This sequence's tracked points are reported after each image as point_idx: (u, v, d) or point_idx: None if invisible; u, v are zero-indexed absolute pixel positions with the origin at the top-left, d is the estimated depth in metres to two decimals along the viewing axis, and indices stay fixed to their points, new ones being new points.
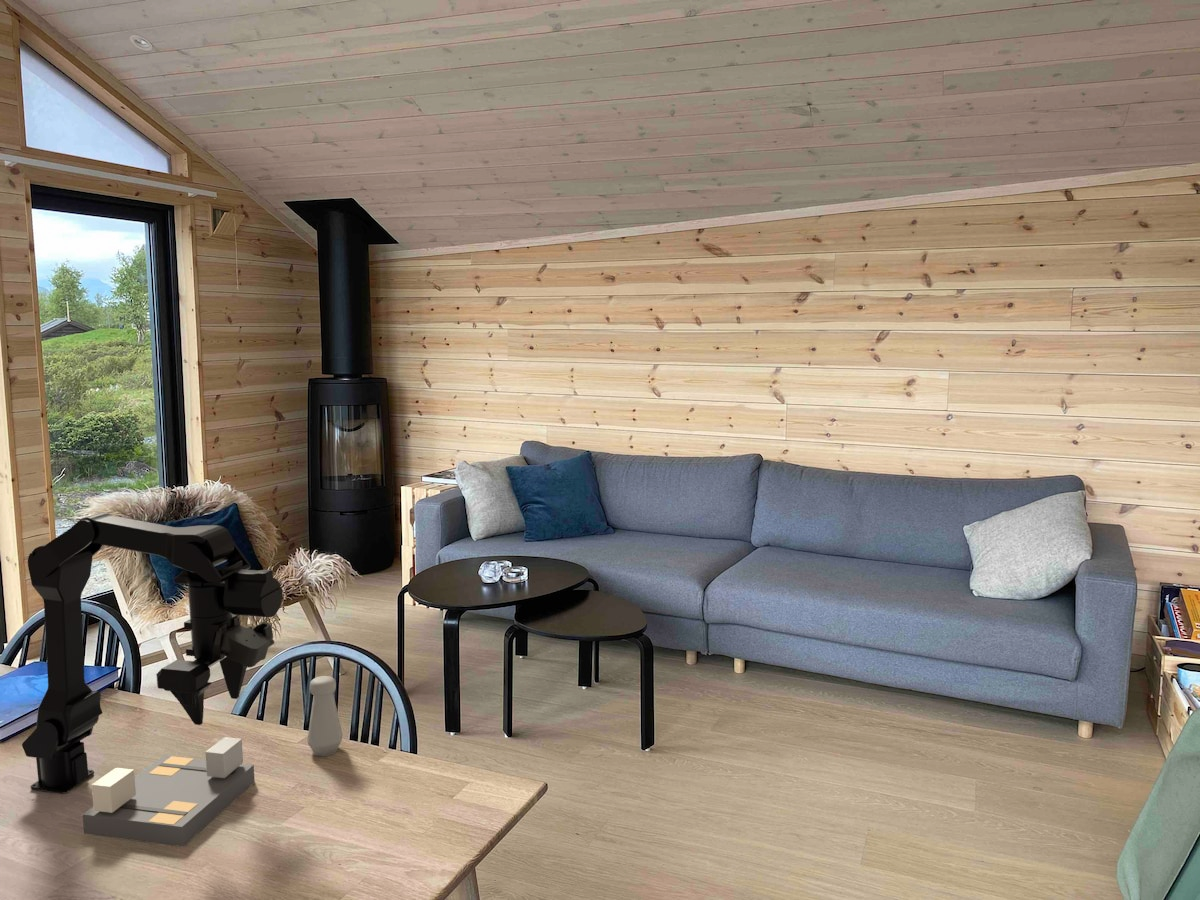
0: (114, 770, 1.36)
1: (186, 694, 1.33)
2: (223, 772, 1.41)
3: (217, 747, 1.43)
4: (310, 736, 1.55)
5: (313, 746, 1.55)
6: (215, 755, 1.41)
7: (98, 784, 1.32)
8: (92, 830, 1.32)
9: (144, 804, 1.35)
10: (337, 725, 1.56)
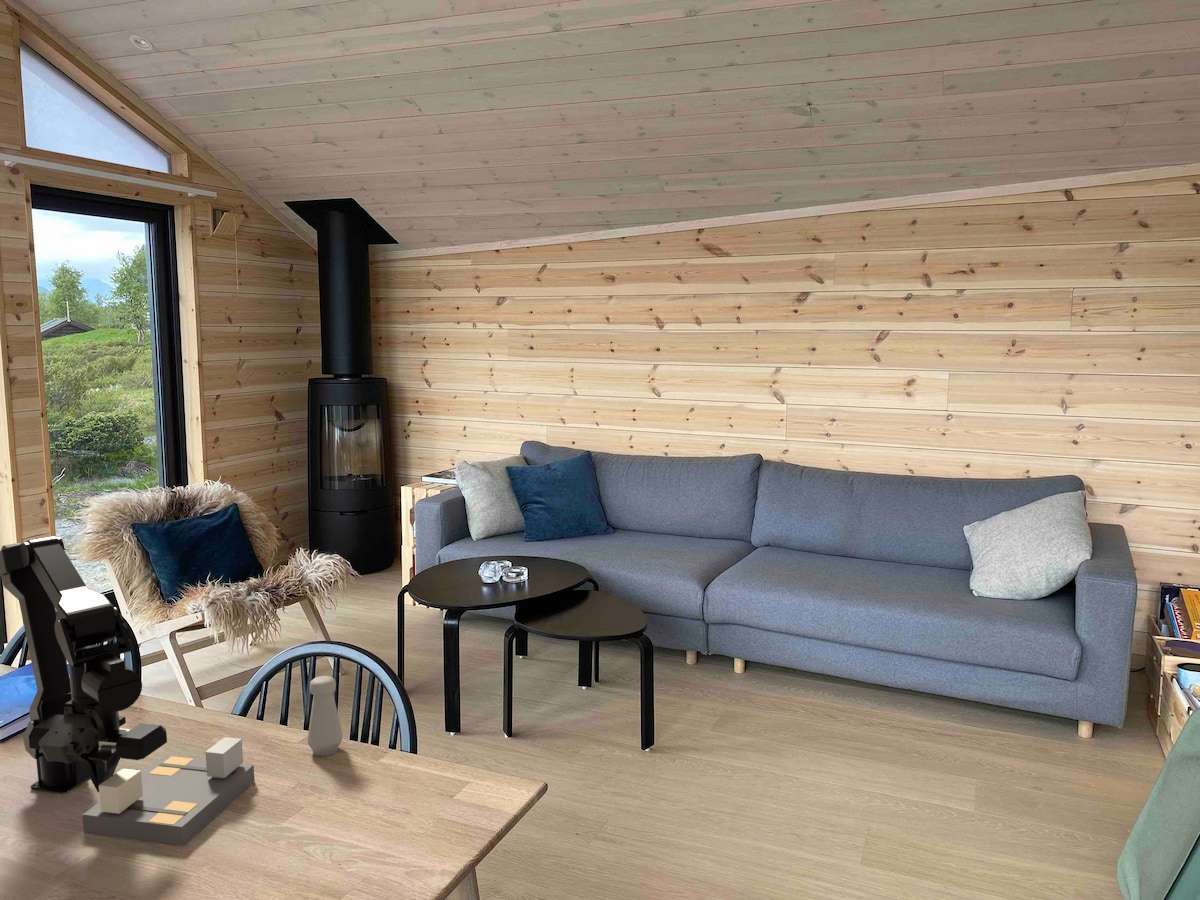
0: (121, 771, 1.35)
1: None
2: (223, 772, 1.41)
3: (217, 747, 1.43)
4: (310, 736, 1.55)
5: (313, 746, 1.55)
6: (215, 755, 1.41)
7: (105, 785, 1.31)
8: (92, 830, 1.32)
9: (144, 804, 1.35)
10: (337, 725, 1.56)
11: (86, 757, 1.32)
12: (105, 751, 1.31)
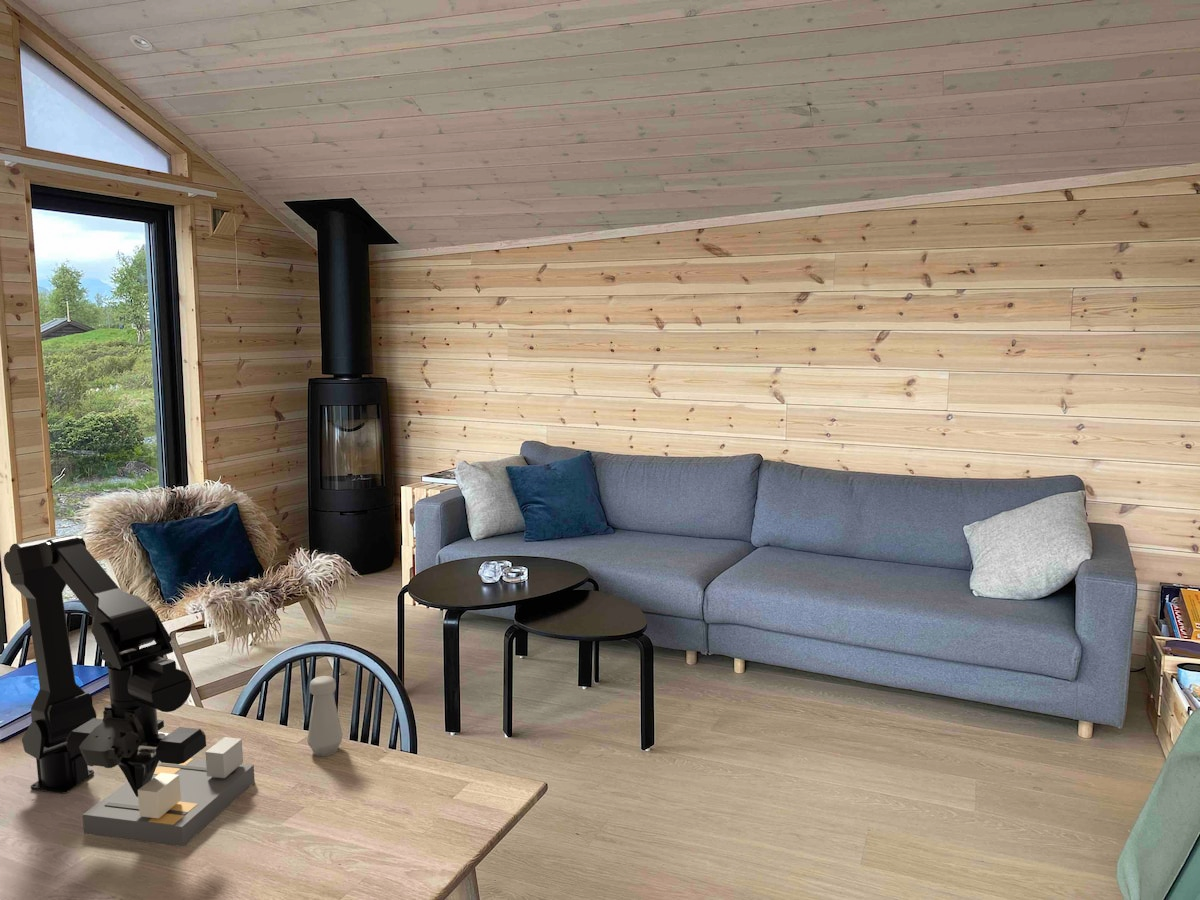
0: (159, 775, 1.34)
1: None
2: (223, 772, 1.41)
3: (217, 747, 1.43)
4: (310, 736, 1.55)
5: (313, 746, 1.55)
6: (215, 755, 1.41)
7: (144, 789, 1.30)
8: (92, 830, 1.32)
9: None
10: (337, 725, 1.56)
11: (125, 761, 1.31)
12: (144, 755, 1.30)
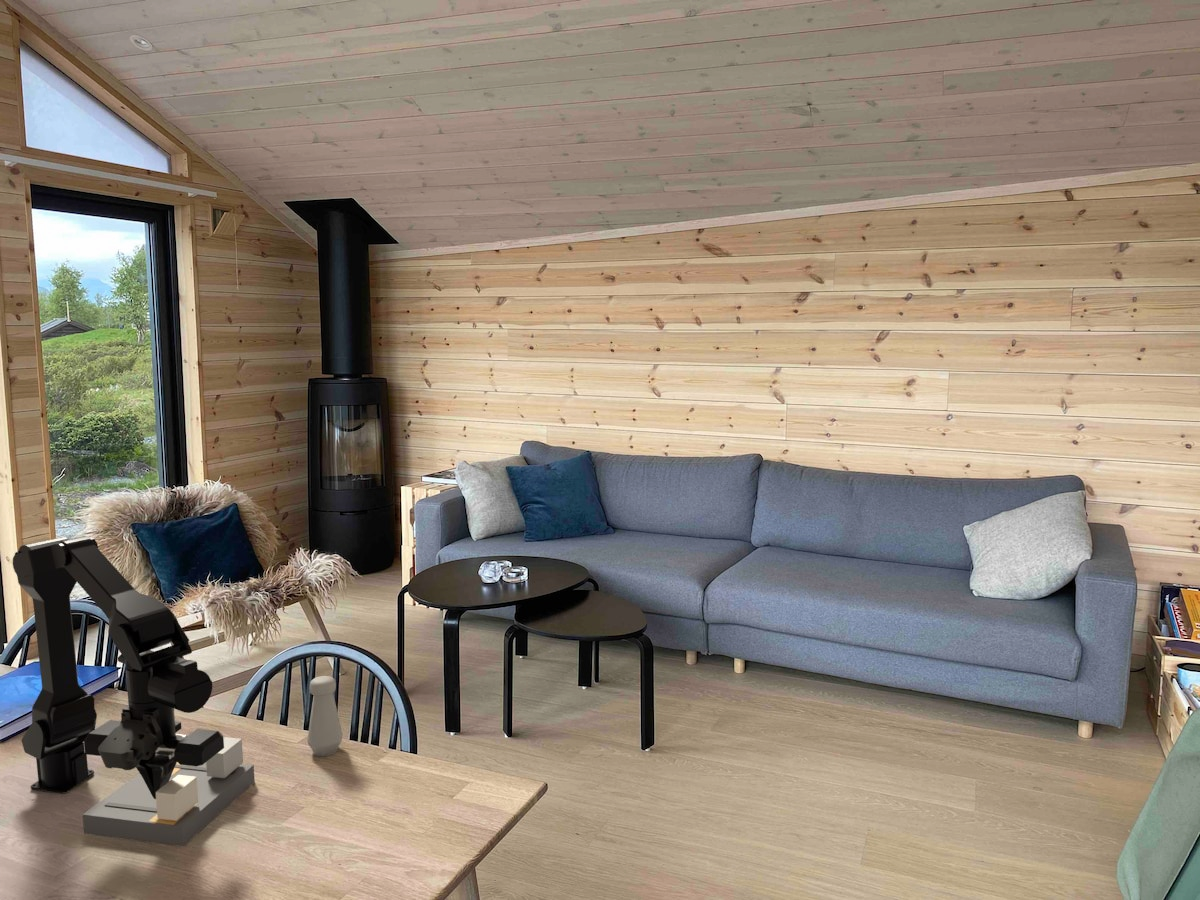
0: (177, 777, 1.34)
1: None
2: (223, 772, 1.41)
3: None
4: (310, 736, 1.55)
5: (313, 746, 1.55)
6: (215, 755, 1.41)
7: (162, 792, 1.30)
8: (92, 830, 1.32)
9: (144, 804, 1.35)
10: (337, 725, 1.56)
11: (143, 763, 1.30)
12: (162, 757, 1.30)
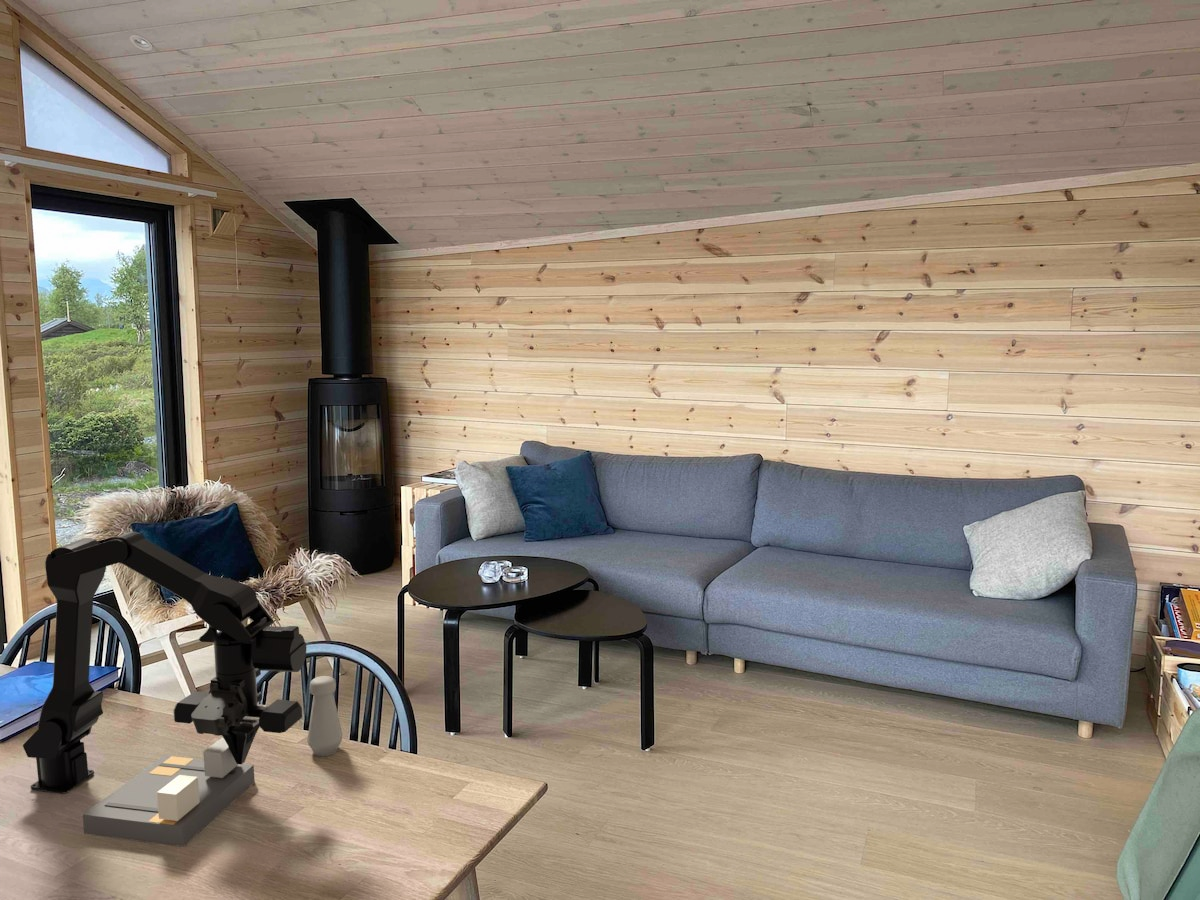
0: (178, 777, 1.34)
1: None
2: (221, 772, 1.41)
3: (215, 747, 1.43)
4: (310, 736, 1.55)
5: (313, 746, 1.55)
6: (213, 755, 1.41)
7: (163, 792, 1.30)
8: (92, 830, 1.32)
9: (144, 804, 1.35)
10: (337, 725, 1.56)
11: (228, 731, 1.41)
12: (246, 725, 1.40)
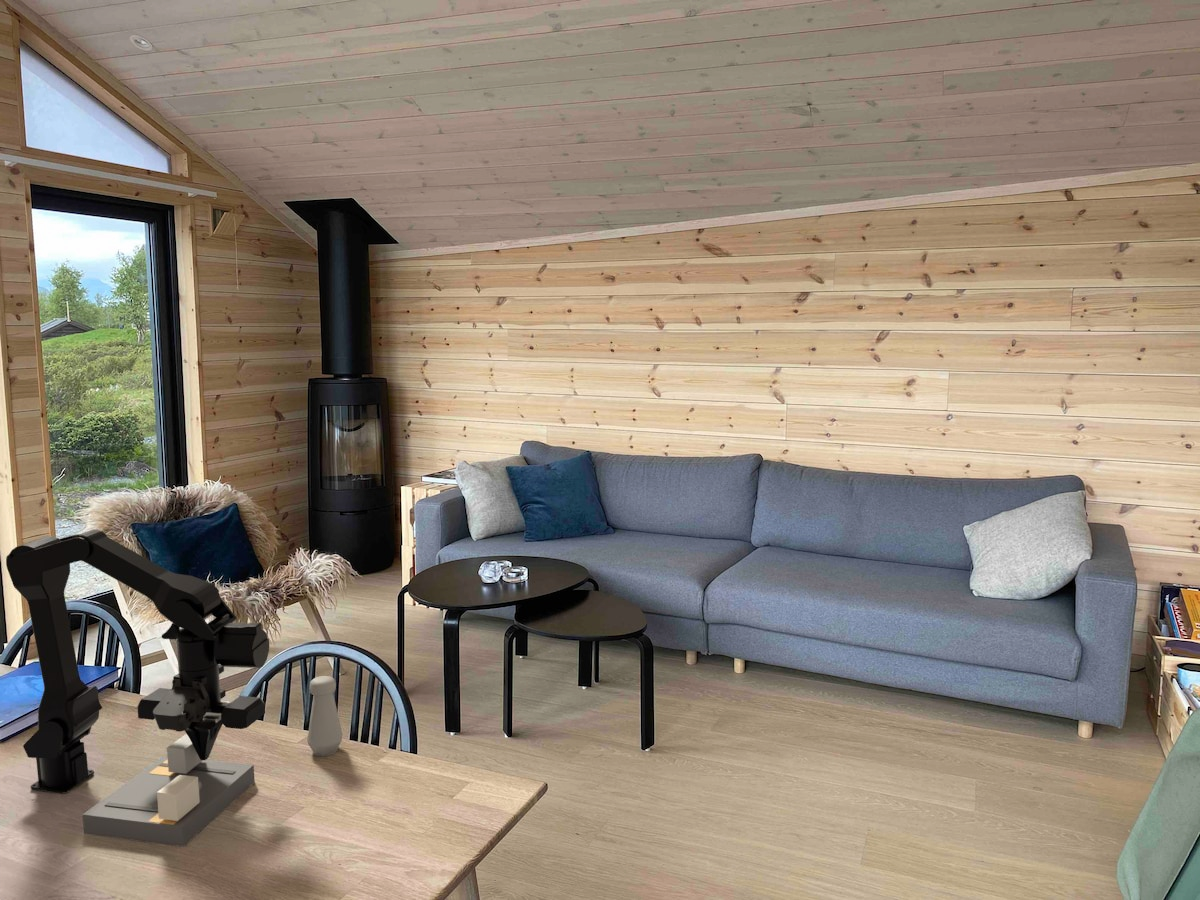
0: (178, 777, 1.34)
1: None
2: (184, 768, 1.42)
3: (179, 743, 1.44)
4: (310, 736, 1.55)
5: (313, 746, 1.55)
6: (176, 751, 1.42)
7: (163, 792, 1.30)
8: (92, 830, 1.32)
9: (144, 804, 1.35)
10: (337, 725, 1.56)
11: (191, 727, 1.42)
12: (209, 721, 1.41)
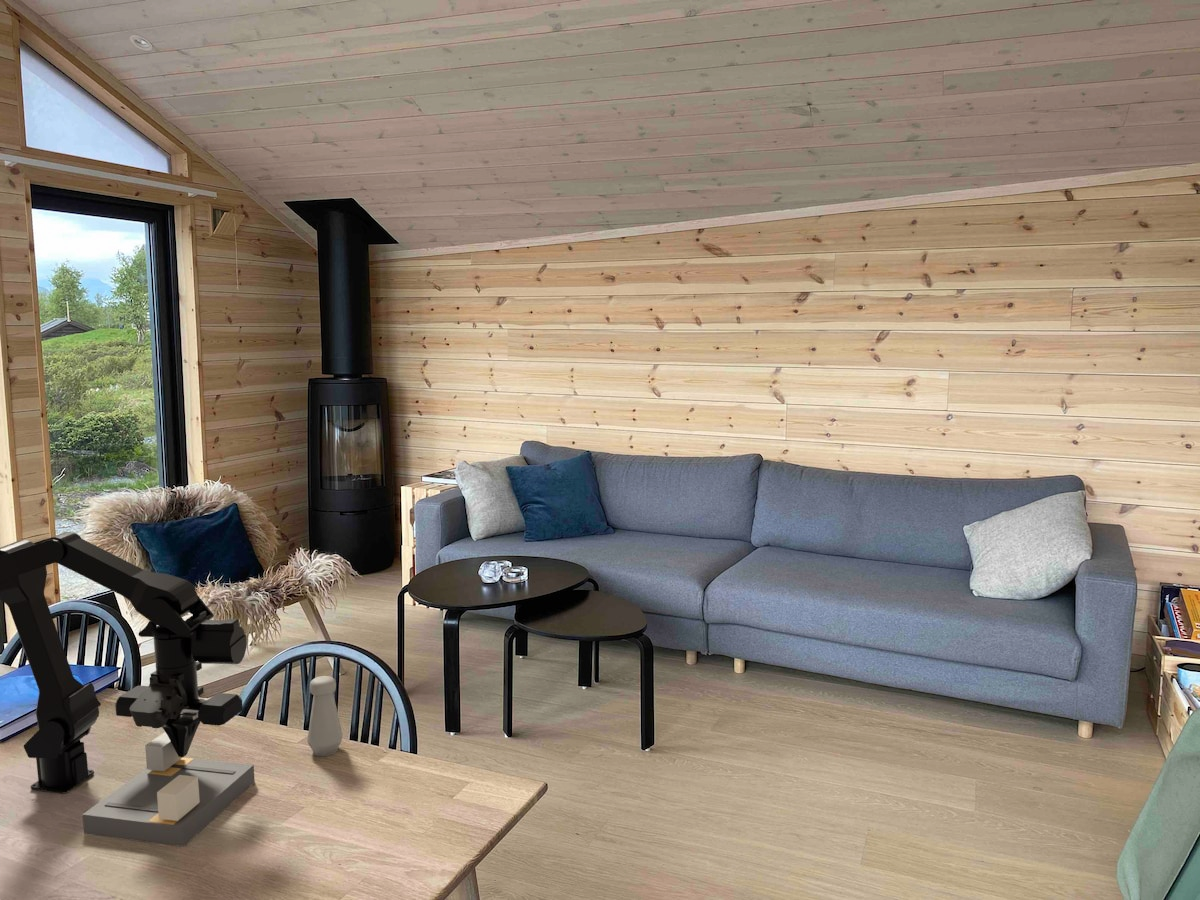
0: (178, 777, 1.34)
1: None
2: (162, 765, 1.43)
3: (157, 741, 1.45)
4: (310, 736, 1.55)
5: (313, 746, 1.55)
6: (155, 749, 1.43)
7: (163, 792, 1.30)
8: (92, 830, 1.32)
9: (144, 804, 1.35)
10: (337, 725, 1.56)
11: (169, 724, 1.43)
12: (187, 718, 1.42)
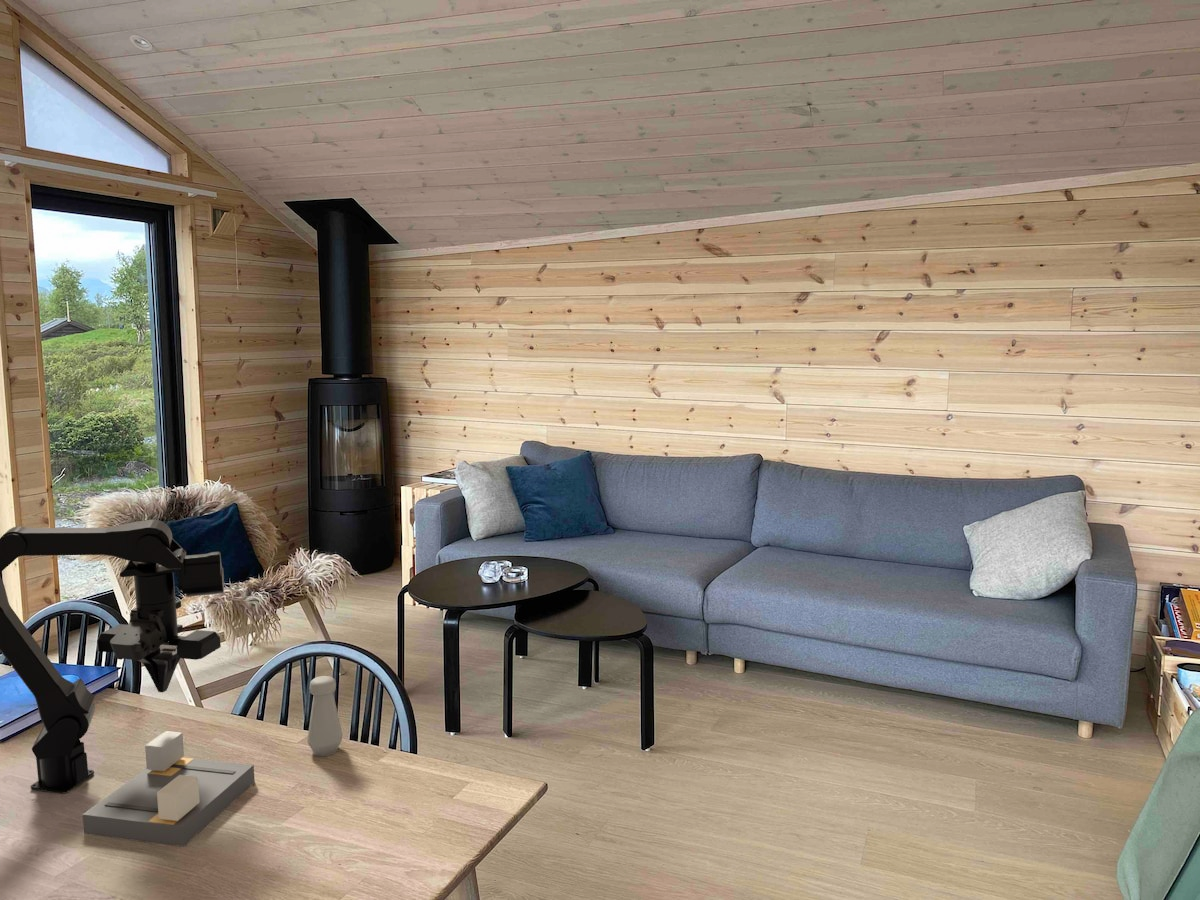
0: (178, 777, 1.34)
1: None
2: (162, 765, 1.43)
3: (157, 741, 1.45)
4: (310, 736, 1.55)
5: (313, 746, 1.55)
6: (154, 749, 1.43)
7: (163, 792, 1.30)
8: (92, 830, 1.32)
9: (144, 804, 1.35)
10: (337, 725, 1.56)
11: (149, 659, 1.48)
12: (166, 653, 1.47)
